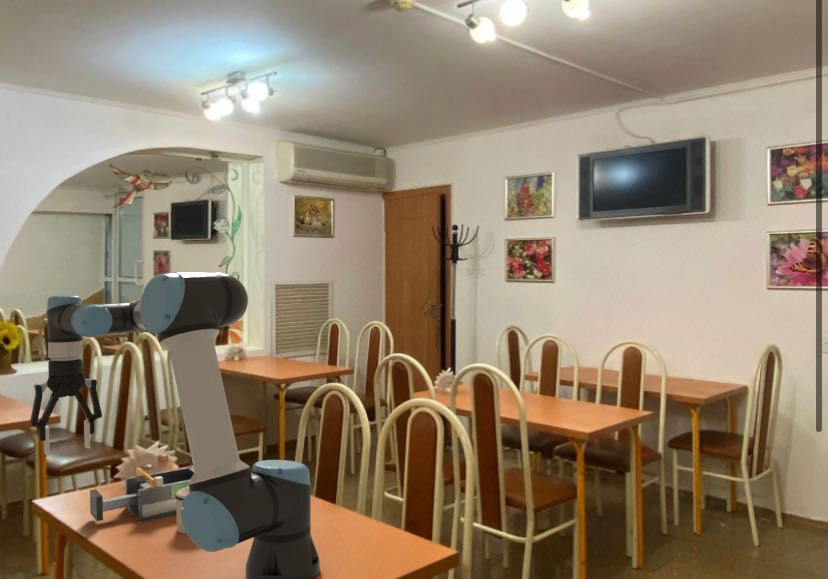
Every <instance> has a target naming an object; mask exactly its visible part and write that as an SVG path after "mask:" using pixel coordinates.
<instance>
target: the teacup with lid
mask: <svg viewBox="0 0 828 579" xmlns="http://www.w3.org/2000/svg"><path fill="white" fill-rule="evenodd" d="M189 493H190V489H189V485H188V486H186V487H185V488H183V489H180V490H179V491H177V493H176V495H175V497H176V506H177V515H176V531H177V532H179V533H180V534H184V535H187V533H186V531H185V528H184V526H183V523H182V519H181V508H182V507H183V506H182V501H183V499H184V498H185V497H186V496H187V495H188V494H189Z"/></svg>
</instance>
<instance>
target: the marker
mask: <svg viewBox="0 0 828 579" xmlns="http://www.w3.org/2000/svg"><path fill="white" fill-rule="evenodd" d="M154 479H155V486H156V487H159V486H163V477H161V476H158V477H154Z"/></svg>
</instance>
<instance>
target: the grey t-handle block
mask: <svg viewBox="0 0 828 579" xmlns="http://www.w3.org/2000/svg"><path fill="white" fill-rule="evenodd" d="M135 468H136V470H135V471H136V476H139V477H140V478H142V479H143V480H144V481H145V482H146V483H141V484H139V489H143V488H149V487H155V479H154V478H152V477H151V476H150V475H148V474H149V473H147V472H146V471H144V469H143V468H141V467H135ZM103 497H104V496H103V495H102V494H101V493H100V491H98V490H97V489H90V490H89V510H90V511H89V512H90V515H91V516H92V518H94V520H95V522H101V521H104V513H103V512H108V511H109V512H110V511H113V510H119V509H125V508H126V507H129V506H134V505H138V493H133V494H128V495H125V494H124V495H123V494H122V495H119V496H114V497H109V498H108V497H107V498H103Z"/></svg>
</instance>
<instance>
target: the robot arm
mask: <svg viewBox="0 0 828 579" xmlns="http://www.w3.org/2000/svg"><path fill="white" fill-rule="evenodd" d="M248 297H249V296H248V292H247V290H246V287H245V286H244V284H243V283H242V282H241V281H240V279H238V278H237V277H235V276H233V275H231V274H228V273H223V272H179V271H175V272H172V273H161V274H157V275H155V276H153V277H152V278H151V279H150V280H149V281H148V282H147V284H146V285H145V287H144V288H143V292H142V294H141V298H140V300H138V301H133V302H123V303H122V302H115V303H113V302H112V303H94V304H93V303H92V304H91V303H90V304H88V303H87V304H85V303H84V304H83V303H82V299H81V297H80V296H79V295H53V296H49V297H48V298H47V300H46V301H47V303H46V304H47V305H46V306H47V307H46V311H45V312H46V323H47V324H46V325H47V348H48V349H47V355H48V356H47V357H48V358H49V359H50V360H48V362H47V363H48V364H47V366H48V367H47V368H48V370H47V371H48V372H47V373H48V378H47V380H46V382H43V383H35V384H34V385H33V388H34V393H35V394H34V399H33V404H32V410H31V413H30V414H31V415H30V421H29V423H30V426H32V427H37V428H38V439H39V440H40V442H43V446H44V447H43V449H44V454H45V455H46V456H50V455H51V449H50V448H51V447H50V446H51V444H50V443H51V442H50V427H49V426H48V425H47V424H48V422H49V420H50V418H51V415H52V413H53V412H54V410H55V407H56V404H57V402H58V401H59V399H60V398H66V397H74V398H75V400H76V401H77V404H78V405H79V407H80V408H81V410H82V411H83V414H84V415H85V417H86V419H87V420H83V426H84V428H83V430H84V432H83V433H84V436H83V437H84V438H83V439H84V448H86V449H91V435H93V434H95V422H96V420H98V419H101V418H103V412H102V409H101V404H100V399H99V396H98V392H97V384H98V380H97V379H95V378H85V376H84V370H83V369H84V364H83V363H84V360H83V359H82V358H81V357H82V356H83V337H85V338H89V339H90V338H98V337H102V336H107V335H117V334H118V335H119V334H128V333H129V334H132V333H147V332H148V333H152V334H154V335H157V338H158V342H159V346H160V347H162V348H163V349H165V350H167V351H168V352H169V355H170V360H171V365H172V369H173V374H174V380H175V384H176V389H177V394H178V398H179V403H180V408H181V413H182V418H183V422H184V427H185V432H186V433H185V434H186V437H187V442H188V445H189V446H188V447H189V451H190V456H191V461H192V467H194V471H195V472H194V475H193V476H192V478H191V480H190V481H189V483H188V484H189V489H190V493H189V494H188V495H187V496H186V497H185V498H184V499H183V501H182V506H183V507H182V508H181V519H182V523H183V526H184V528H185V531H186V533H187V534H186V535H187V536H188V538H189V539H190V540H191V541H192V543H193V544H195V545H196V546H197V547H198V548H199V549H201V550H203V551H205V552H210V553H216V552H219V551H222V550H226V549H230V548H233V547H235V546H236V545H237V544H240V543H242V542H246V541H248V540H251V539H253V540H252V543H251V546H250V550H249V553H248V556H247V560H246V563H245V579H315V578H316V577H317V576H318V575H319V573H320V571H321V568H320V567H321V566H320V565H321V564H320V563H321V561H320V557H319V554H318V551H317V547H316V545H315V542H314V539H313V536H312V534H311V533H312V532H311V530H312V528H311V520H312V518H311V513H312V512H311V510H312V509H311V507H312V506H311V504H312V503H311V486H312V483H311V478H310V476H311V475H310V469H309V468H308V466H307V465H305V464H304V463H302V462H300V461H299V462H298V461H293V460H284V459H283V460H282V459H267V460H260V461H257V462H254V464H253V465H252V469H251V468H250V465H248V464H247V463H245V462H244V461H242V460H241V459H240V455H239V450H238V445H237V442H236V437H235V432H234V427H233V424H232V419H231V415H230V409H229V405H228V400H227V396H226V391H225V387H224V383H223V382H224V381H223V378H222V374H221V369H220V365H219V364H220V363H219V360H218V356H217V350H216V347H215V346H216V345H215V341H216V339H217V337H218V335H220V328H224V327H228V326H231V325H233V324H235V323H236V322H238V321H239V320H240V319H241V318H242V317H243V316H244V315H245V313H246V312H247V309H248V305H249V298H248ZM84 385H85V386H86V388H88V392H89V397H90V399H91V405H92V408H93V413H92V410H91V409H90V407H89V406H88V403H87V402H86V399H85V398H84V397H83V395H82V393H81V391H80V390H81V389H82V388H83V387H84ZM47 388H48V389H49V390H50V391H51V392H52V393H51V395H50V397H49V400H48V402H47V404H46V406H45V408H44V411H43V413H42V414H41V417H39V416H40V411H41V405H42V402H43V393H45V392H46V390H47ZM39 418H40V419H39Z"/></svg>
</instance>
